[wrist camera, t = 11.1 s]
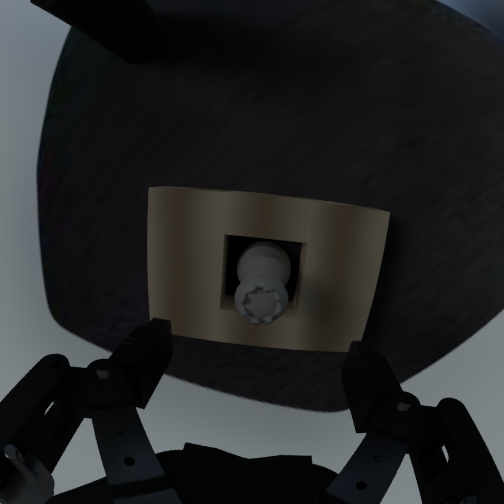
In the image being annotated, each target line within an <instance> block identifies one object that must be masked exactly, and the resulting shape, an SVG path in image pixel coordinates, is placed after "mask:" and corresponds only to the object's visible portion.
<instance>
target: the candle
mask: <svg viewBox="0 0 504 504" xmlns="http://www.w3.org/2000/svg"><path fill="white" fill-rule="evenodd" d="M30 2H31V3H33V4H34V5H36V6H38V7H40V8H41V9H43V10H45V11H47V12H48V13H50V14H52V15H54V16H55V17H57V18H59V19H61V20H62V21H64V22H66V23H67V24H69V25H70V26H72V27H74V28H75V29H77V30H78V31H80V32H82V33H83V34H85V35H86V36H88V37H89V38H91V39H92V40H94V41H95V42H97V43H99V44H100V45H101V46H103V47H104V48H106V49H107V50H109V51H110V52H113V53H114V54H116V55H117V56H118V57H120V58H121V59H123V60H124V61H125V62H127V63H135V62H137V61H139V60H140V59H141V58H142V57H143V56H144V55H145V54H146V53H147V52H148V51H149V50H150V49H151V48H152V47H153V46H154V45H155V44H156V43H157V42H158V41H159V40H160V39H161V38H162V37H163V35H164V34H165V32H166V27H165V25H164V24H163V23H162V21H161V20H160V19H159V17H158V16H157V15H156V14H155V12H154V11H153V10H152V9H151V7H150V6H149V5H148V4H147V2H146V1H145V0H30Z"/></svg>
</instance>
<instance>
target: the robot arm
mask: <svg viewBox="0 0 504 504" xmlns="http://www.w3.org/2000/svg"><path fill="white" fill-rule="evenodd" d="M172 351H173V347H172V328H171V321H170V320H167V319H161V318H156V317H154V318H152V320H151V321H150V322H149V323H148V324H147V326H140V327H138V328H136V329H134V330H133V331H132V332H131V333H130V334H129V335H128V336H127V338H126V339H125V340H124V341H123V343H121V344H120V346H119V347H118V348H117V349H116V350H115V351H114V352H113V354H112V355H111V356H110V357H109V358H108V359H99V360H95V361H93V362H91V363H90V364H89V365H88V367H87V368H81V367H71V366H70V364H69V361H68V359H67V358H66V357H65V356H63V355H61V354H50V355H47V356H45V357H43V358H42V359H41V360H40V361H39V362H38V363H37V364H36V365H35V366H34V367H33V368H32V369H31V370H30V371H29V372H28V373H27V374H26V375H25V376H24V377H23V378H22V379H21V380H20V381H19V382H18V383H17V385H16V386H15V387H14V388H13V389H12V390H11V391H10V392H9V393H8V394H7V395H6V397H5V398H4V399H3V400H2V401H1V402H0V503H1V504H380V502H381V501H382V498H383V497H384V495H385V493H386V492H387V490H388V488H389V486H390V485H391V483H392V480H393V479H394V477H395V475H396V473H397V470H398V469H399V467H400V465H401V463H402V460H403V458H404V456H405V454H409V455H410V459H411V462H412V466H413V469H414V473H415V477H416V480H417V484H418V488H419V492H420V496H421V500H422V504H504V482H503V480H502V478H501V476H500V473H499V471H498V469H497V466H496V464H495V462H494V460H493V458H492V456H491V454H490V452H489V450H488V448H487V446H486V444H485V442H484V440H483V439H482V436H481V435H480V433H479V431H478V429H477V427H476V425H475V423H474V421H473V420H472V418H471V416H470V414H469V413H468V411H467V409H466V408H465V406H464V405H463V403H462V402H460V401H458V400H457V399H454V398H444V399H442V400H441V401H440V402H439V403H438V405H437V407H432V406H424V405H420V402H419V400H418V398H416V396H414V395H413V394H411V393H409V392H405V391H403V390H402V388H401V386H400V384H399V382H398V380H397V378H396V377H395V375H394V373H393V371H392V369H391V367H389V366H390V365H389V363H388V362H387V360H386V358H385V357H384V356H382V355H381V354H380V353H379V352H374V350H373V348H372V346H371V344H370V342H369V341H352V342H351V344H350V347H349V350H348V353H347V356H346V359H345V362H344V366H343V369H342V383H343V386H344V390H345V393H346V397H347V400H348V404H349V408H350V411H351V415H352V418H353V422H354V426H355V430H356V433H366V436H365V438H364V439H363V441H362V442H361V444H360V445H359V447H358V448H357V450H356V451H355V452H354V454H353V455H352V457H351V458H350V460H349V461H348V462H347V464H346V465H345V466H344V468H343V469H342V471H341V472H340V473H339V474H337V473H336V472H334V471H332V470H330V469H328V468H325V467H323V466H319V465H315V464H312V456H297V455H294V456H293V455H278V456H270V457H263V458H252V459H248V458H243V457H240V456H237V455H234V454H231V453H228V452H225V451H223V450H220V449H217V448H212V447H207V446H202V445H196V444H192V443H187V442H186V443H185V445H184V448H183V450H170V451H164V452H160V453H157V454H155V453H154V451H153V449H152V446H151V444H150V442H149V439H148V437H147V435H146V432H145V430H144V428H143V425H142V423H141V420H140V418H139V415H138V412H137V410H136V407H138V408H141V409H145V407H146V405H147V403H148V402H149V399H150V398H151V396H152V394H153V392H154V390H155V388H156V387H157V385H158V383H159V381H160V379H161V377H162V376H163V374H164V372H165V370H166V368H167V366H168V365H169V363H170V361H171V358H172ZM52 402H53V403H54V404H53V405H52V406H51V408H50V409H49V410H48V412H47V413H46V414H45V412H46V409H47V408H48V407H49V406H50V404H51V403H52ZM84 418H90V419H92V423H93V428H94V432H95V437H96V440H97V445H98V448H99V452H100V456H101V459H102V463H103V466H104V470H105V473H106V477H104V478H101V479H98V480H96V481H94V482H91V483H89V484H86V485H83V486H80V487H78V488H75V489H72V490H69V491H66V492H63V493H60V494H57V495H55V496H53V495H54V491H53V490H54V479H53V477H52V475H51V473H52V472H53V470H54V468H55V467H56V465H57V463H58V461H59V460H60V458H61V456H62V454H63V453H64V451H65V449H66V447H67V446H68V444H69V442H70V441H71V439H72V437H73V435H74V434H75V432H76V430H77V429H78V427H79V426H80V424H81V422H82V421H83V419H84ZM443 446H445V448H446V450H447V453H448V456H449V460H448V463H447V460H446V458H445V455H444V453H443V450H442V447H443Z"/></svg>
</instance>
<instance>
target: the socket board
mask: <svg viewBox="0 0 504 504" xmlns="http://www.w3.org/2000/svg"><path fill="white" fill-rule="evenodd" d="M389 217H390V213H389V212H386V211H382V210H379V209H376V208H369V207H363V206H357V205H350V204H344V203H337V202H330V201H322V200H315V199H307V198H299V197H290V196H282V195H272V194H263V193H252V192H241V191H229V190H217V189H202V188H186V187H166V186H162V187H151V188H149V198H148V238H147V250H148V290H149V309H150V321H151V320H152V318H154V317H156V318H161V319H167V320H170V321H171V328H172V334H175V335H181V336H186V337H193V338H199V339H205V340H212V341H219V342H227V343H234V344H243V345H252V346H261V347H271V348H283V349H296V350H312V351H334V352H348V350H349V347H350V344H351V342H352V341H361V340H362V336H363V333H364V330H365V326H366V323H367V319H368V316H369V312H370V308H371V304H372V301H373V297H374V293H375V289H376V284H377V280H378V276H379V271H380V266H381V262H382V257H383V252H384V246H385V241H386V235H387V229H388V223H389ZM230 235H237V236H247V237H257V238H266V239H276V240H285V241H294V242H302V248H301V255H300V262H299V269H298V276H297V282H296V289H295V295H294V301H293V302H288V305H287V307H286V310H285V312H284V313H283V314H282V315H281V316H280V317H279V318H278V319H276V320H274V322H273V323H271V324H269V325H266V323H258V326H257V325H254V324H250V321H248V320H247V319H246V318H243V317H242V315H240V313H239V311H238V310H237V308H236V306H235V299H234V296H231V295H225V294H226V278H227V264H228V250H229V236H230Z"/></svg>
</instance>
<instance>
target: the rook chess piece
mask: <svg viewBox="0 0 504 504" xmlns="http://www.w3.org/2000/svg"><path fill="white" fill-rule="evenodd" d="M290 271H291V267H290V259H289V257H288V255H287V253H286V251H285V250H283V249H282V248H281V247H280V246H279V245H278V244H275V243H272V242H269V241H261V242H255V243H253V244H251V245H249V246H247V247H246V248H245V249H244V250H243V251H242V253H241V254H240V256H239V259H238V262H237V277H238V279H239V281H240V283H241V284H240V285H239V286H238V287H237V290H236V293H235V296H234V299H235V306H236V308H237V310H238V311H239V313H240V315H242V317H243V318H246V319H247V320H248V321H250V324H254V325H257V326H258V323H266V325H269V324H271V323H273V322H274V320H276V319H278V318H279V317H280V316H281V315H282V314H283V313H284V312H285V310H286V307H287V305H288V293H287V291H286V289H285V287H284V286H285V285H286V284H287V282H288V279H289V277H290V274H291V273H290Z"/></svg>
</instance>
